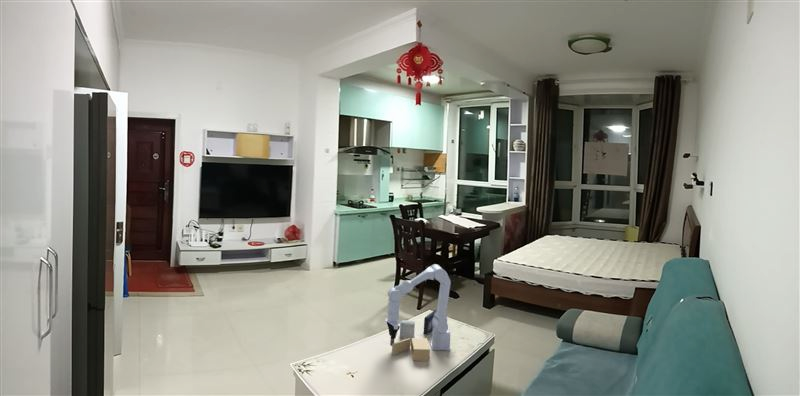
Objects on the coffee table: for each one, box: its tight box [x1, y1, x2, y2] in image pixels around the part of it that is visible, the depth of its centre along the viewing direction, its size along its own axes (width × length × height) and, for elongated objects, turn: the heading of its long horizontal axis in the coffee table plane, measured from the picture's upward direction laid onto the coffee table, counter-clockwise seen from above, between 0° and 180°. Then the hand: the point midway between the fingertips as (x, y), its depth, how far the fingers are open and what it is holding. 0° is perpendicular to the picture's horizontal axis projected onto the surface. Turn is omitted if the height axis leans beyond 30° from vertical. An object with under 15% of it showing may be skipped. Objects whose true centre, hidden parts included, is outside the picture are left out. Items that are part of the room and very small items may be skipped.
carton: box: [410, 337, 431, 362], centre depth 202 cm, size 8×12×6 cm, turn 4°
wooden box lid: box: [389, 338, 412, 355], centre depth 206 cm, size 5×12×10 cm, turn 129°
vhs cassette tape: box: [423, 308, 437, 335], centre depth 233 cm, size 18×3×10 cm, turn 147°
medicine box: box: [399, 319, 416, 340], centre depth 222 cm, size 8×4×9 cm, turn 84°
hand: (392, 336), depth 206 cm, fingers open, 3 cm apart
